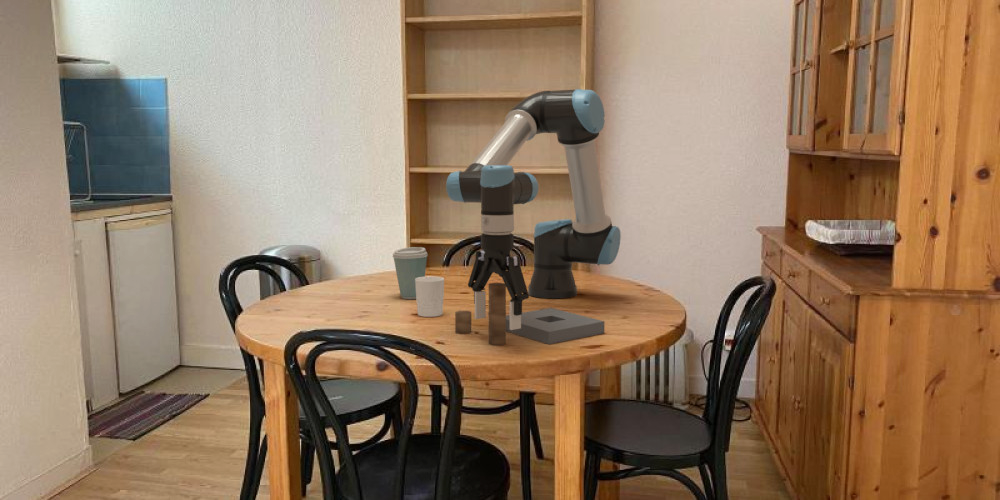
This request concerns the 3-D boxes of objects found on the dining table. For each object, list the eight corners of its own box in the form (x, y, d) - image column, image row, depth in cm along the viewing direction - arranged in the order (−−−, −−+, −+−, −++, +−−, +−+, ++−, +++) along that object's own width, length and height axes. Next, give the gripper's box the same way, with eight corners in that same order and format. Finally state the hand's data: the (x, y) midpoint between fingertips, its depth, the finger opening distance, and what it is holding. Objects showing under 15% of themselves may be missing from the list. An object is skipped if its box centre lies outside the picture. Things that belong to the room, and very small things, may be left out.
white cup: (422, 318, 205) (421, 282, 204) (411, 313, 212) (410, 277, 211) (449, 315, 209) (448, 279, 207) (437, 310, 216) (437, 275, 214)
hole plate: (497, 328, 194) (497, 316, 194) (551, 318, 205) (551, 307, 205) (548, 344, 178) (548, 331, 178) (604, 333, 189) (604, 321, 189)
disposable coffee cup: (413, 302, 227) (413, 252, 225) (385, 298, 232) (384, 249, 230) (435, 296, 236) (434, 248, 234) (407, 292, 241) (407, 245, 239)
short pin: (452, 331, 191) (452, 312, 190) (465, 329, 193) (465, 309, 193) (461, 334, 188) (461, 314, 187) (474, 332, 190) (474, 312, 189)
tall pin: (485, 342, 180) (485, 284, 178) (498, 340, 182) (498, 282, 180) (495, 346, 177) (495, 286, 175) (509, 343, 179) (509, 284, 177)
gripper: (453, 229, 184) (454, 316, 186) (518, 239, 164) (517, 336, 167) (478, 227, 188) (479, 312, 191) (545, 236, 168) (544, 331, 171)
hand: (497, 323), depth 179 cm, fingers open, 13 cm apart
